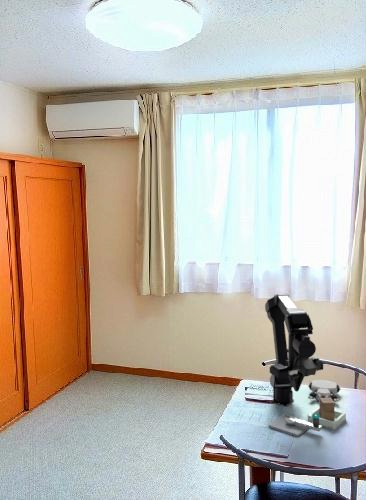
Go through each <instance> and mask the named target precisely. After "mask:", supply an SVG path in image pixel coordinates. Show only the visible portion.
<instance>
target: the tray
mask: <svg viewBox="0 0 366 500" xmlns="http://www.w3.org/2000/svg"><path fill="white" fill-rule="evenodd" d="M319 412H320V405H319V406H317V407H316V408H315V409H314V410H313V411H311V412H310V413H309V414H307V421H310V422H313V418H312V414H319ZM346 418H347V413H346V412H344V411H341V410H340V411H339V410H336V409H334V421H330V420H326V419H323V418H319V425H320V426H321V428H326V429H329V430H332V431H335V430H337V429H338V428H339V427H340V426H341V425H342V424H344V422H345V421H346V420H347V419H346Z"/></svg>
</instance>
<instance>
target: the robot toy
mask: <svg viewBox="0 0 366 500" xmlns="http://www.w3.org/2000/svg"><path fill="white" fill-rule="evenodd" d="M337 383H338V382H335V381H332V380H325V379H315V380H312V381H310V379H308V384H307V387H308V388H309V390H310V391H311V393H309V395H307V399H309V400H314V399H315V398H316V399H317V400H318V402H320V398H332V400H333V401H334V403H338V402H340V400H339V398H338V396H337V395H338V393H339V392H340V391H341V390H342V389H341V386H340V385H338V384H337Z"/></svg>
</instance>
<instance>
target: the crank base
mask: <svg viewBox="0 0 366 500" xmlns="http://www.w3.org/2000/svg"><path fill="white" fill-rule="evenodd" d="M287 416H291V415H290V414H287V413H283V414H282V415H281V416H279V417H278V418H276V419H275V420H273V421H272V422H270V423H269V424H268V425H267V428H270V429H272V430H276V431H278V432H281V433H285V434H288V435H290V436H294V437H297V438H299V437H300V436H301V435H302V434H304V433H305V432H306V431H307V430H309V429H308V428H305V427H301V426H298V425H293V426H290V425H287V424H286V423H285V417H287ZM294 417H295V418H296V419H299V420H303V421H306V422H310V421H308V420H307V419H306V420H305V419H302V418H299V417H296V416H294ZM310 423H313V422H310Z"/></svg>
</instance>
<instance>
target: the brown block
mask: <svg viewBox="0 0 366 500" xmlns="http://www.w3.org/2000/svg"><path fill="white" fill-rule="evenodd" d="M335 403H336V402H334V401H333V400H332V398H331V397H330V398H320V401H319V406H320V412H319V415H320V418H323V419H326V420H330V421H334V410H335Z"/></svg>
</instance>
